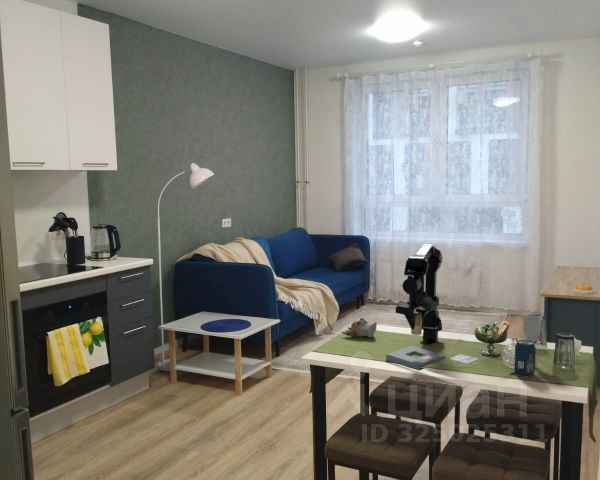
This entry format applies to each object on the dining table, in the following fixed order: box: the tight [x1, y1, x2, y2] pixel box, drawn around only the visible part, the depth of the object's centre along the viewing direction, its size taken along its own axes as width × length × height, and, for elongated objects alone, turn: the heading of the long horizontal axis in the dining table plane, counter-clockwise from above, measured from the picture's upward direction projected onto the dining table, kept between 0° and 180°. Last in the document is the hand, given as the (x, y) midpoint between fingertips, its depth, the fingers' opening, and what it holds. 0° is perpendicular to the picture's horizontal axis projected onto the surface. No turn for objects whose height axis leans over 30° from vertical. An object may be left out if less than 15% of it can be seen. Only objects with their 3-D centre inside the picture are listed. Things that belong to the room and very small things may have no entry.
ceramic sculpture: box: [341, 317, 378, 339], centre depth 256 cm, size 11×9×15 cm
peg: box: [410, 312, 423, 336], centre depth 220 cm, size 4×4×8 cm
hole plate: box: [385, 345, 446, 372], centre depth 221 cm, size 16×16×3 cm
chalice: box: [521, 315, 544, 366], centre depth 215 cm, size 7×7×18 cm
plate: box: [449, 353, 479, 365], centre depth 219 cm, size 8×8×2 cm
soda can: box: [514, 339, 536, 378], centre depth 204 cm, size 7×7×12 cm
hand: (416, 328), depth 220 cm, fingers closed on peg, 4 cm apart
